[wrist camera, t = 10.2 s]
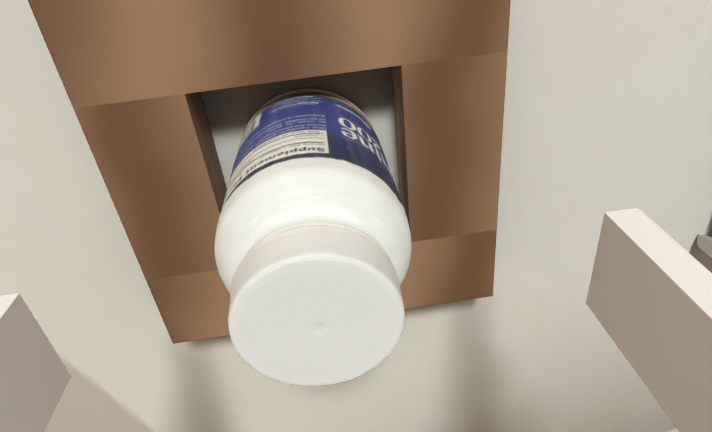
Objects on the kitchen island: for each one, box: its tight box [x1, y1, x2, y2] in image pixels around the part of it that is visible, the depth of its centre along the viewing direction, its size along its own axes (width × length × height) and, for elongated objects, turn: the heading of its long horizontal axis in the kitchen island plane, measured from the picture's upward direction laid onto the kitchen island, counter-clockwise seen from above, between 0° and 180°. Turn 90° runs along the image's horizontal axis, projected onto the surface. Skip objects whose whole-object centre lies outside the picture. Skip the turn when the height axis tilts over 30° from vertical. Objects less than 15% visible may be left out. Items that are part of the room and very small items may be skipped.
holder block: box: [28, 0, 510, 344], centre depth 18 cm, size 14×14×2 cm
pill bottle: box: [214, 89, 412, 386], centre depth 15 cm, size 5×5×10 cm
